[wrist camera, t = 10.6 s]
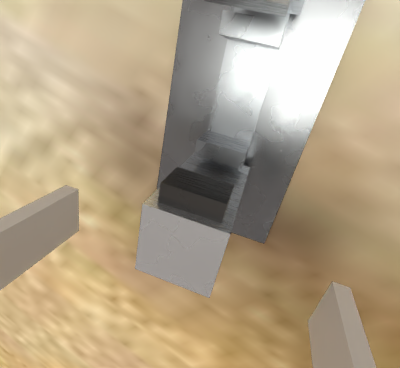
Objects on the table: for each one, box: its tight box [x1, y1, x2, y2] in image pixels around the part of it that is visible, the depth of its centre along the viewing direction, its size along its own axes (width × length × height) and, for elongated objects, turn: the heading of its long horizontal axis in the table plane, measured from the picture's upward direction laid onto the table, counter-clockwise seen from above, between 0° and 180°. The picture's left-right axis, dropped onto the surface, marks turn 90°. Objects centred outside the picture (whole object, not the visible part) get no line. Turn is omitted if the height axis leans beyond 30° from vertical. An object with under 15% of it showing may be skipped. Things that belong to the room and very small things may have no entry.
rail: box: [157, 0, 365, 243], centre depth 13 cm, size 22×10×10 cm, turn 169°
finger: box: [135, 153, 250, 298], centre depth 15 cm, size 5×4×8 cm
